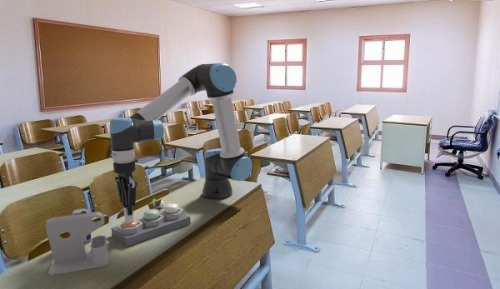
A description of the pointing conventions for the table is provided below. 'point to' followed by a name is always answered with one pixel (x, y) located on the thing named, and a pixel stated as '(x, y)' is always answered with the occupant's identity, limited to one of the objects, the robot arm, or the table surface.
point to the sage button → (151, 215)
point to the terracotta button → (129, 224)
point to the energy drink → (82, 211)
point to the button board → (150, 227)
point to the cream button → (171, 208)
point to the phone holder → (75, 243)
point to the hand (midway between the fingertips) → (129, 222)
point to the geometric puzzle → (157, 205)
